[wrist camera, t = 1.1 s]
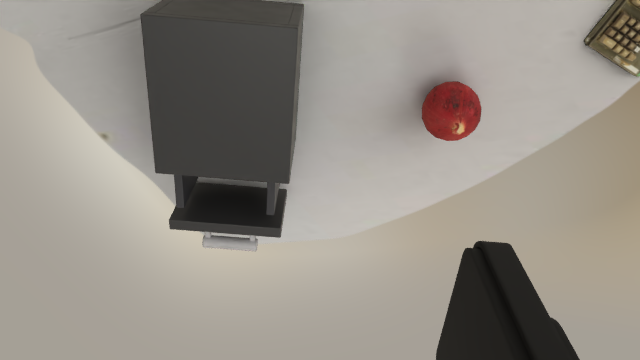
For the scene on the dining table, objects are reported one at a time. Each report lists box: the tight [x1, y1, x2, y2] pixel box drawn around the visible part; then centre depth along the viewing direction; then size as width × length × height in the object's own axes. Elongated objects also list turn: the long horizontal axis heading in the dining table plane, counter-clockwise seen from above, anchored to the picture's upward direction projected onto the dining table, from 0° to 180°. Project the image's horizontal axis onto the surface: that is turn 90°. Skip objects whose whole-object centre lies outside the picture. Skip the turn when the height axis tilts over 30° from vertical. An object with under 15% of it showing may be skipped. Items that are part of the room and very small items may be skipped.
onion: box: [422, 82, 481, 141], centre depth 51 cm, size 6×6×8 cm
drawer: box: [169, 175, 287, 251], centre depth 54 cm, size 18×12×8 cm, turn 175°
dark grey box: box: [141, 0, 304, 184], centre depth 49 cm, size 15×13×10 cm
